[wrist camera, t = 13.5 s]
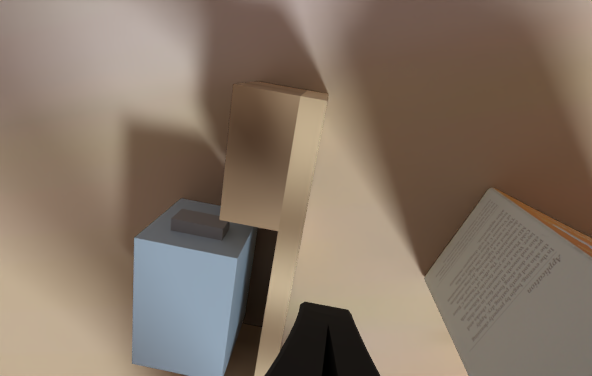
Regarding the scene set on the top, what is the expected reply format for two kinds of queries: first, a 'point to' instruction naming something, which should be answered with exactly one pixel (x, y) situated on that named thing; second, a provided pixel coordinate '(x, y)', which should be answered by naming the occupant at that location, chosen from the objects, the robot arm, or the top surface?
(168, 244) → the cabinet block
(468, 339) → the small box
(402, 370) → the top surface
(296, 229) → the beige wooden bar
